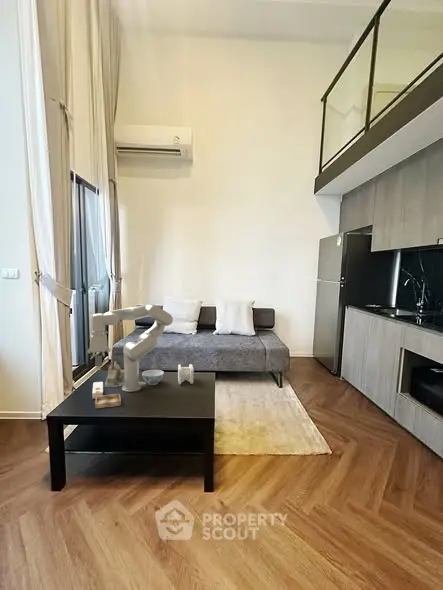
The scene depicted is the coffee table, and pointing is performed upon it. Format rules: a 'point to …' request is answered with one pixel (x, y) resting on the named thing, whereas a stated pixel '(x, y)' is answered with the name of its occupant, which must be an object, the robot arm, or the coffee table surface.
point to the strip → (97, 389)
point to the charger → (98, 362)
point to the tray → (107, 401)
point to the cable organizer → (185, 373)
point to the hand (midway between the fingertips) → (98, 362)
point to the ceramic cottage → (115, 376)
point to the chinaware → (152, 376)
